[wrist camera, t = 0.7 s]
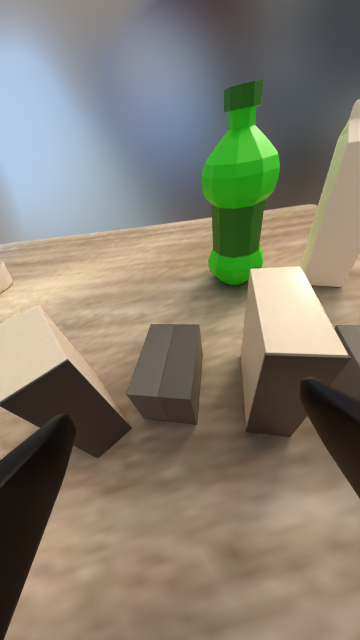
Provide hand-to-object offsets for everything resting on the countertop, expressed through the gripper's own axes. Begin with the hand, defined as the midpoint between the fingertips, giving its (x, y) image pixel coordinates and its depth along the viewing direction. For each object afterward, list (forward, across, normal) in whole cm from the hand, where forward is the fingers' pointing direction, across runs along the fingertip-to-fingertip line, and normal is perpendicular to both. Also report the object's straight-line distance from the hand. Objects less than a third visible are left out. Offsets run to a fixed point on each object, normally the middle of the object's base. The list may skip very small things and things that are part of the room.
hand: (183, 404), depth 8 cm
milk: (+30, -25, +5) cm, 39 cm away
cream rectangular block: (+12, -8, +12) cm, 18 cm away
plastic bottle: (+34, -11, +4) cm, 35 cm away
